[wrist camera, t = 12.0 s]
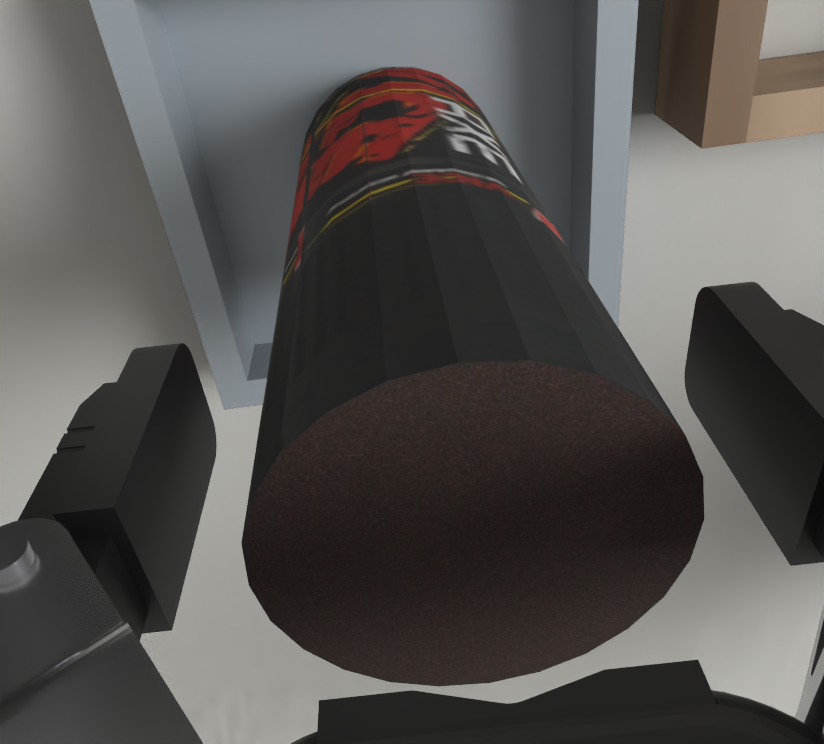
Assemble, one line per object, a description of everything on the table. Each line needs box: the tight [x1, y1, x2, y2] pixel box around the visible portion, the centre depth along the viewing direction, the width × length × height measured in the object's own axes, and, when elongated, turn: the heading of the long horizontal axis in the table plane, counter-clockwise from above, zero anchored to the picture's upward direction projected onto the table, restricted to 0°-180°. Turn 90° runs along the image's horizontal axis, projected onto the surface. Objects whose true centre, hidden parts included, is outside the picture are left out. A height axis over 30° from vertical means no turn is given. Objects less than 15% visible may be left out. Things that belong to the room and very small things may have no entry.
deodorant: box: [242, 67, 704, 686], centre depth 15 cm, size 6×6×15 cm
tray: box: [89, 0, 639, 410], centre depth 21 cm, size 13×13×3 cm
